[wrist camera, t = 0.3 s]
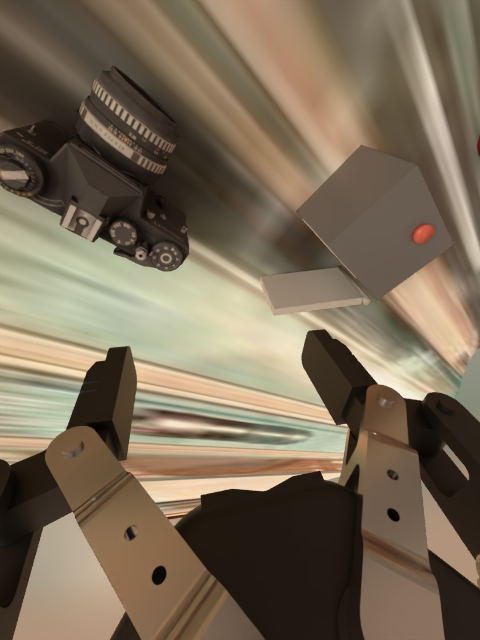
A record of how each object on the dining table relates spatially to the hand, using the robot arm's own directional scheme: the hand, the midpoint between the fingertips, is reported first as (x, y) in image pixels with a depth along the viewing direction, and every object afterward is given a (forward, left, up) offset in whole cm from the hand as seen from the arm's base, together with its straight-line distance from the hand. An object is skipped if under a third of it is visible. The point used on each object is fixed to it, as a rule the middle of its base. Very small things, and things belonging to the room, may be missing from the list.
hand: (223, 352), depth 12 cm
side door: (-1, +17, -22) cm, 28 cm away
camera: (+1, -7, -23) cm, 24 cm away
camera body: (-11, +16, -23) cm, 30 cm away
